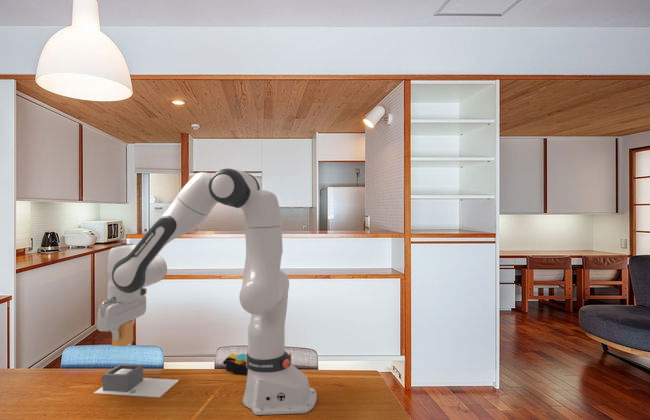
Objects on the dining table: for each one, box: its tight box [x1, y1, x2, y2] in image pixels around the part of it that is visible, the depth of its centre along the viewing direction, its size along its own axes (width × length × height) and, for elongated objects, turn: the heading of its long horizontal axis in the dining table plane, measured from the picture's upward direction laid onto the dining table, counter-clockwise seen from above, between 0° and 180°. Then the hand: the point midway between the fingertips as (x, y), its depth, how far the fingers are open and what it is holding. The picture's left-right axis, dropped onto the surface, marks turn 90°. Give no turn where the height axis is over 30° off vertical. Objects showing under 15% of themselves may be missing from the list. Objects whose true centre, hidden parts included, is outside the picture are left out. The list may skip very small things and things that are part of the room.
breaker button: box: [114, 369, 133, 375], centre depth 127 cm, size 4×4×4 cm
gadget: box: [222, 352, 248, 375], centre depth 140 cm, size 6×13×6 cm, turn 77°
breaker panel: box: [93, 363, 180, 398], centre depth 127 cm, size 22×12×6 cm, turn 83°
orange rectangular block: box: [111, 320, 134, 347], centre depth 127 cm, size 4×4×7 cm
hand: (123, 336), depth 127 cm, fingers closed on orange rectangular block, 4 cm apart
